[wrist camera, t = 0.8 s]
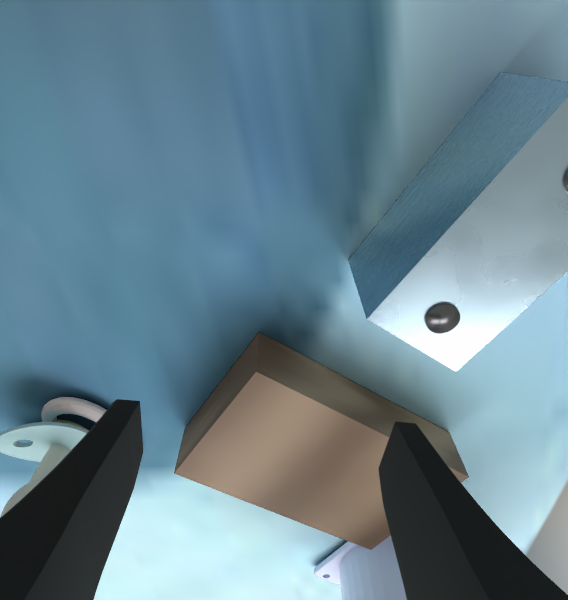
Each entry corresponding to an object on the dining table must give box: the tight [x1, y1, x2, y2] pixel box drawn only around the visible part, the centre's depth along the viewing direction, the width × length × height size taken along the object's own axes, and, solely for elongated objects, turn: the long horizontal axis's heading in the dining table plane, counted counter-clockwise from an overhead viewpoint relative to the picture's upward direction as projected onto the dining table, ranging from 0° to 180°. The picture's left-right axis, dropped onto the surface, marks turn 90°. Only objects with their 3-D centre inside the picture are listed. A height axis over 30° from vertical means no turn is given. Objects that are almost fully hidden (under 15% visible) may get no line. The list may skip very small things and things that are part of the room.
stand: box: [174, 332, 469, 550], centre depth 24 cm, size 13×8×3 cm, turn 56°
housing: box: [348, 72, 568, 372], centre depth 16 cm, size 4×9×5 cm, turn 146°
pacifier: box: [0, 397, 107, 518], centre depth 23 cm, size 7×6×6 cm
